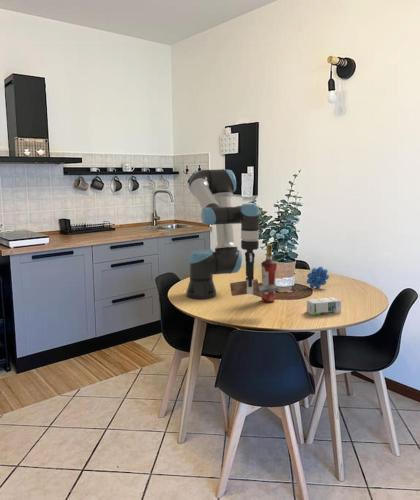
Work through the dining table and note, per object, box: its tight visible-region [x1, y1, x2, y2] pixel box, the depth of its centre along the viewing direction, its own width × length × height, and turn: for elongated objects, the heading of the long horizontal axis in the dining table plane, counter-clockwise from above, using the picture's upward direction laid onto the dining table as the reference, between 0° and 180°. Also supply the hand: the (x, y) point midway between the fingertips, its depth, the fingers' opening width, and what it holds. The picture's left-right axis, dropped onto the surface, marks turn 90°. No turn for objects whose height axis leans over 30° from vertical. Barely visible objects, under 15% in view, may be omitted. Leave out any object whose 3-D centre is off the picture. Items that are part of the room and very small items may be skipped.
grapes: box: [306, 266, 330, 289], centre depth 237 cm, size 12×7×12 cm, turn 86°
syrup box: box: [306, 296, 342, 316], centre depth 198 cm, size 6×6×14 cm
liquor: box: [260, 243, 278, 304], centre depth 213 cm, size 7×7×28 cm
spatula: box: [229, 279, 279, 297], centre depth 194 cm, size 20×6×5 cm, turn 92°
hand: (249, 292), depth 194 cm, fingers closed on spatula, 4 cm apart
